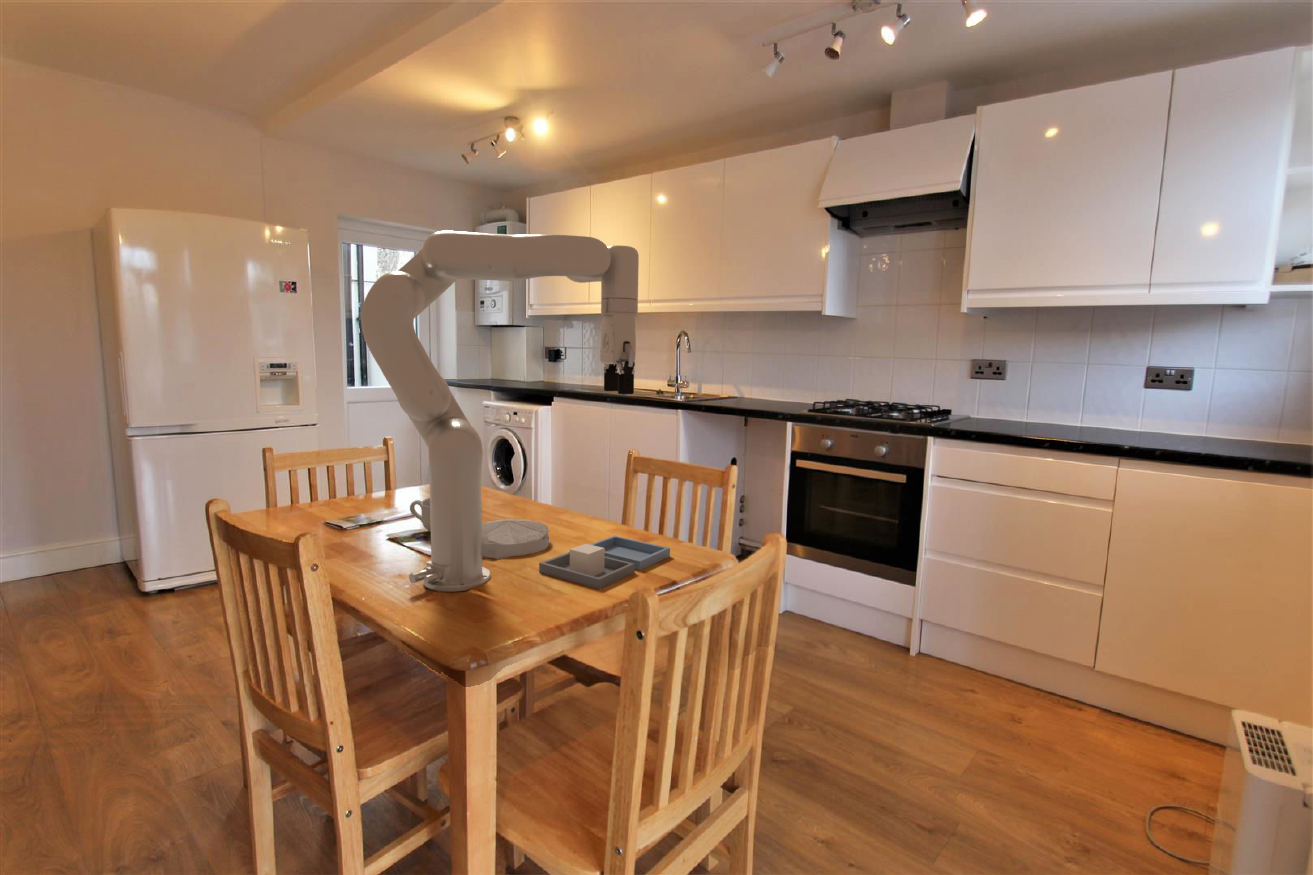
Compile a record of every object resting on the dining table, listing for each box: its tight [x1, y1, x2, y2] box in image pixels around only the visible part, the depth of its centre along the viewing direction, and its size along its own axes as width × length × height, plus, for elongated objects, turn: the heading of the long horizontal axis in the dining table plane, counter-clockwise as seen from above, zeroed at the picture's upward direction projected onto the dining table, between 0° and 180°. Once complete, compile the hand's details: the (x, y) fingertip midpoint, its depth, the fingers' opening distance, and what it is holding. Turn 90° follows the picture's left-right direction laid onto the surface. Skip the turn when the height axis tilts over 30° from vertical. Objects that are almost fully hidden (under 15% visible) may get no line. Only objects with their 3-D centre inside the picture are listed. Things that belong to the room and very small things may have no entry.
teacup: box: [409, 497, 431, 533], centre depth 158 cm, size 14×11×8 cm
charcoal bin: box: [538, 551, 636, 590], centre depth 129 cm, size 12×16×2 cm
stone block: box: [569, 543, 605, 576], centre depth 129 cm, size 5×5×5 cm
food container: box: [482, 518, 552, 561], centre depth 147 cm, size 20×20×7 cm
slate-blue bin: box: [589, 535, 671, 571], centre depth 140 cm, size 12×16×2 cm
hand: (618, 392), depth 132 cm, fingers open, 9 cm apart
